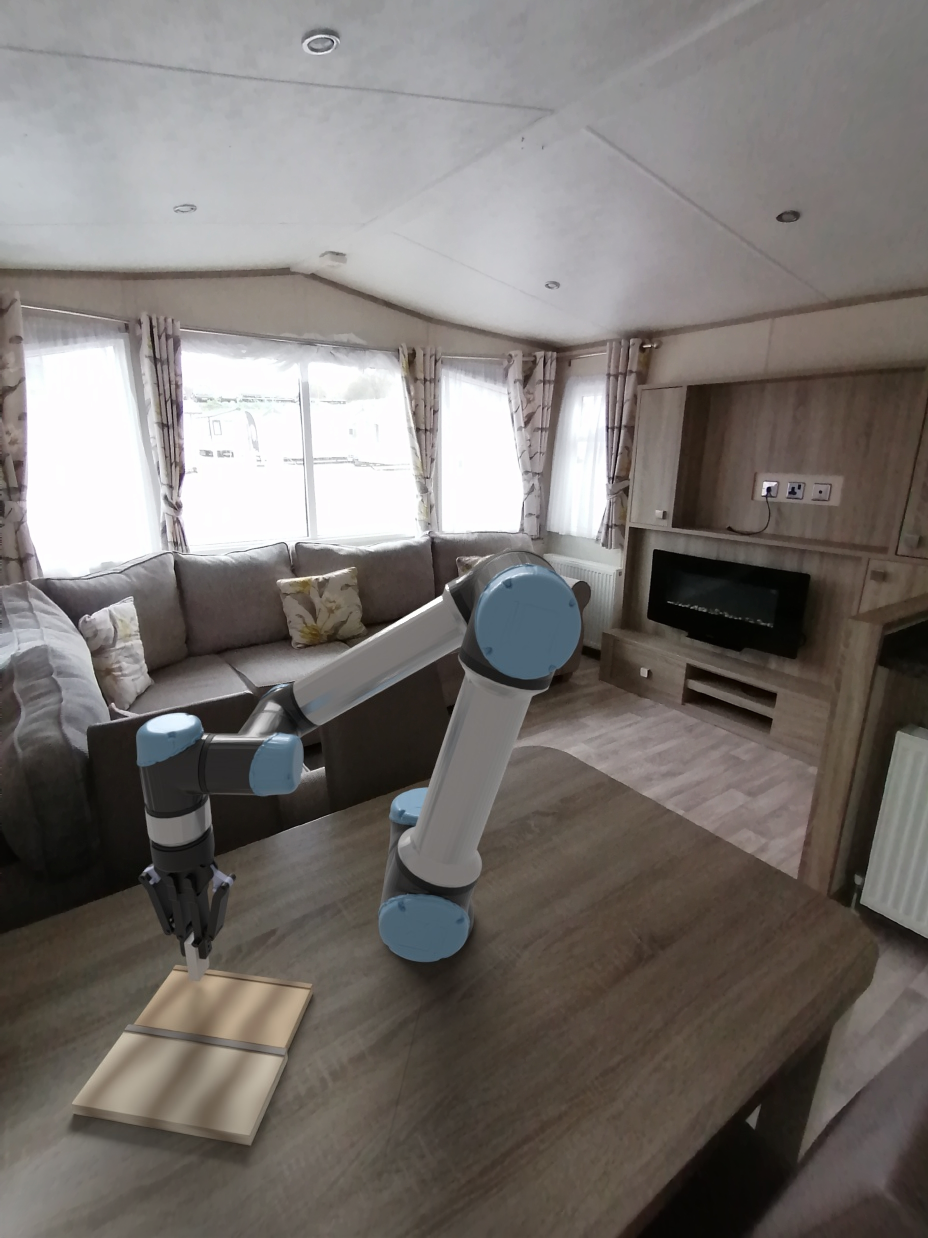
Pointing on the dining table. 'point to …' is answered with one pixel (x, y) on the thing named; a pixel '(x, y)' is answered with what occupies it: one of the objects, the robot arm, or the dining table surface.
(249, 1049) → the laid board
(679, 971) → the dining table surface
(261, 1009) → the plank
